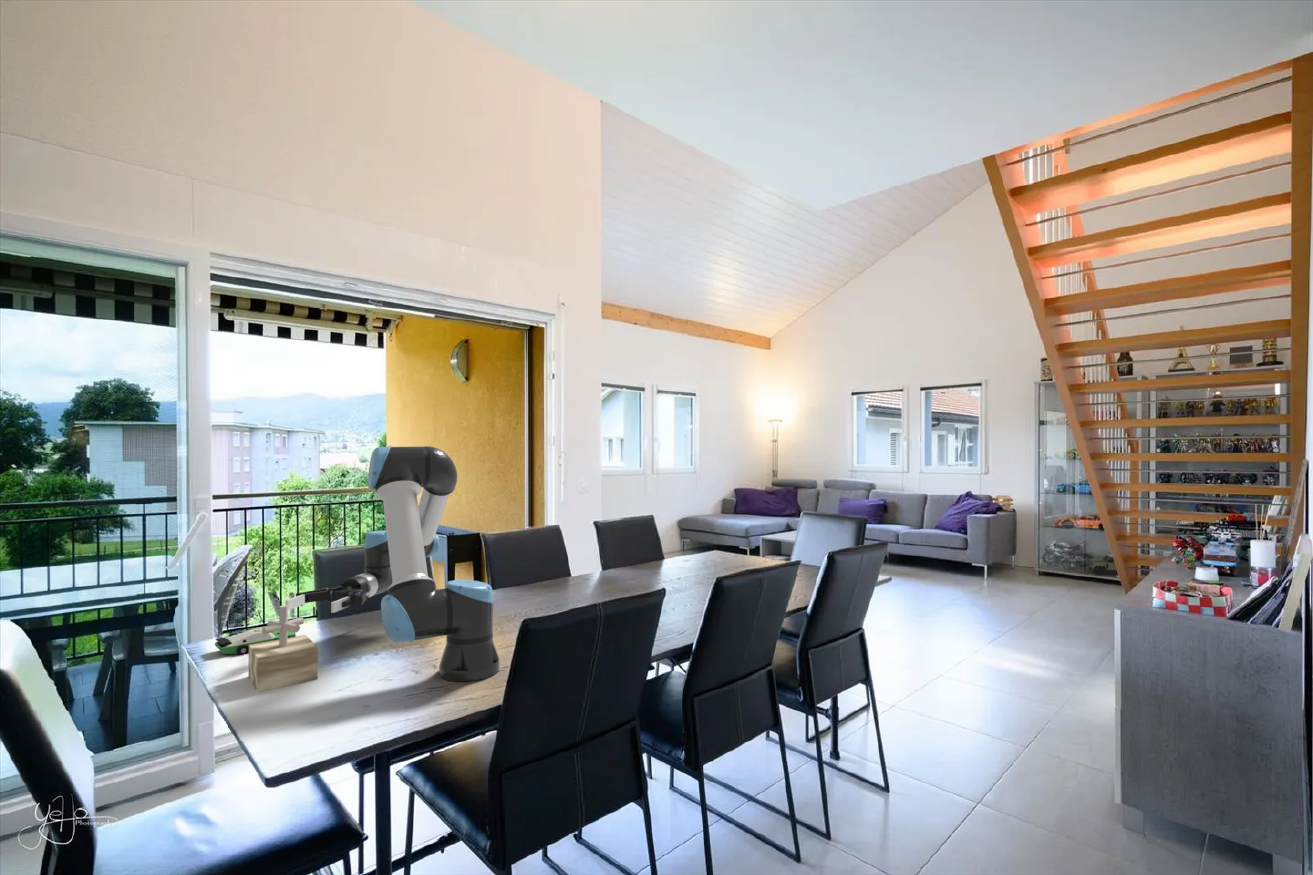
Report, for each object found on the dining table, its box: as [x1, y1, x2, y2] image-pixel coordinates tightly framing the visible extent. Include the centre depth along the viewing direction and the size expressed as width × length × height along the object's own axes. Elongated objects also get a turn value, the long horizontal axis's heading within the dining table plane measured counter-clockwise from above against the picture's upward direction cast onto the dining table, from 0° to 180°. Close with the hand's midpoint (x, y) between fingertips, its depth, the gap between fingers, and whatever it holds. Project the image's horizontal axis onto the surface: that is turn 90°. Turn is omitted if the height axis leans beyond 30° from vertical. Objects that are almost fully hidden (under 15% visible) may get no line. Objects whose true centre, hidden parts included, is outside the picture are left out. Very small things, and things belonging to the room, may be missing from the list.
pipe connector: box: [261, 604, 305, 647], centre depth 163 cm, size 10×10×10 cm
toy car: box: [214, 627, 297, 656], centre depth 187 cm, size 10×19×5 cm, turn 135°
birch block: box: [248, 634, 319, 693], centre depth 163 cm, size 13×13×8 cm
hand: (309, 606), depth 172 cm, fingers open, 13 cm apart
